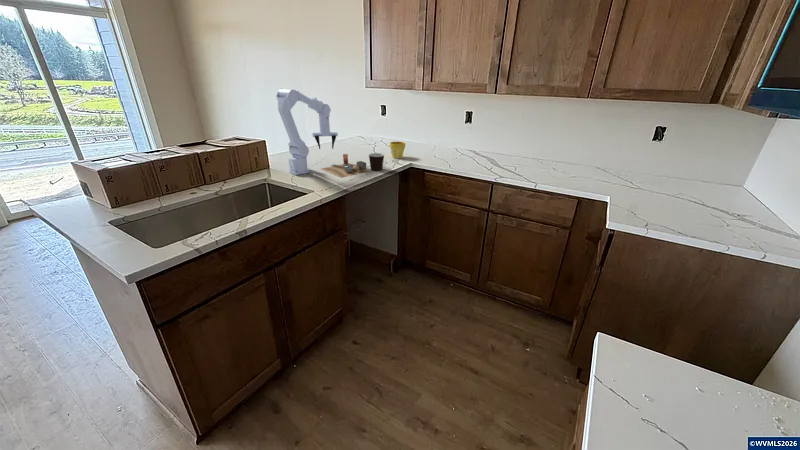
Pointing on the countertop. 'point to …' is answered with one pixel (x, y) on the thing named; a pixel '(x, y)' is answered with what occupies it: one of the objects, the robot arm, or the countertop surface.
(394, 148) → the plant pot
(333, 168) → the nutcracker base
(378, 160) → the coffee mug
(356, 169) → the walnut
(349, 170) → the lever
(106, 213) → the countertop surface
